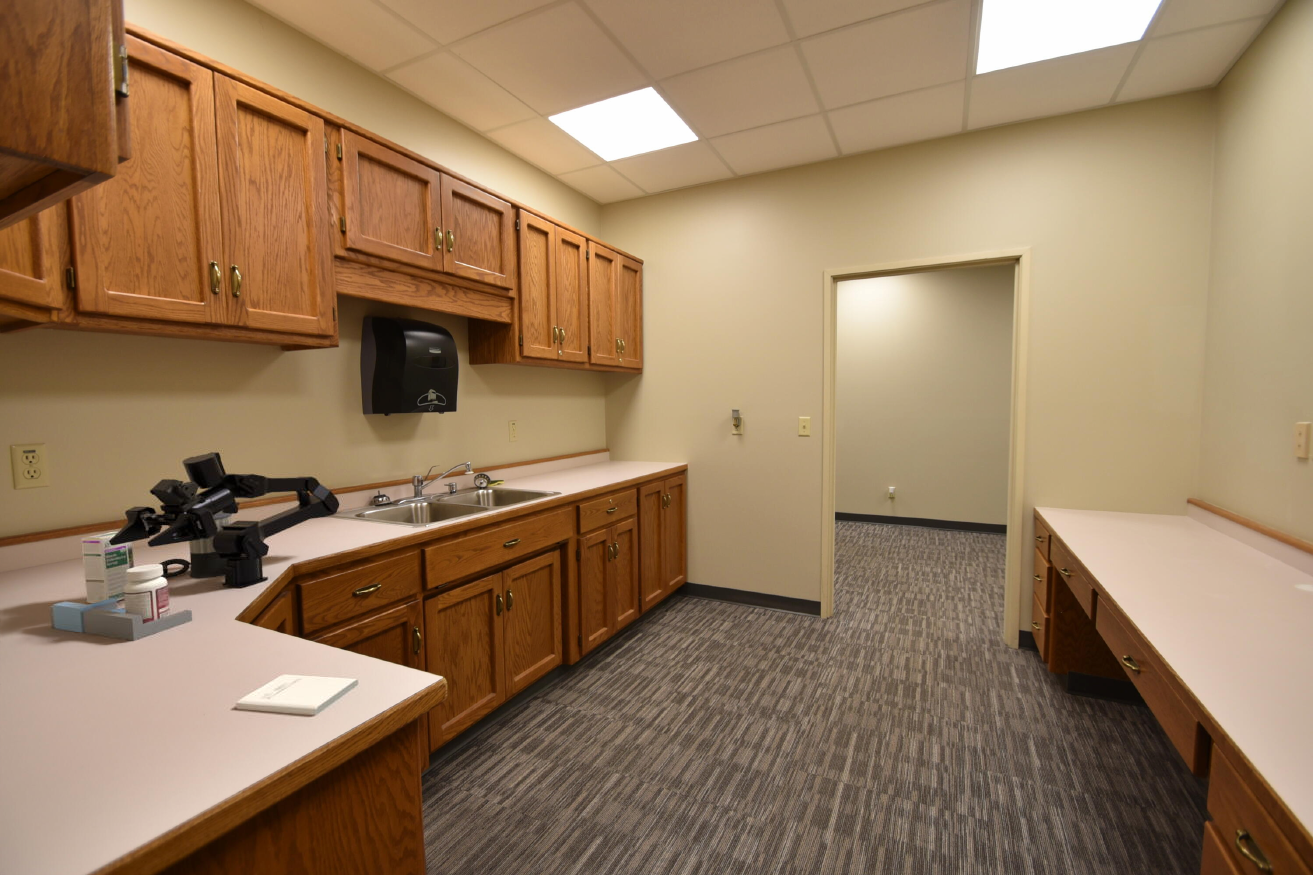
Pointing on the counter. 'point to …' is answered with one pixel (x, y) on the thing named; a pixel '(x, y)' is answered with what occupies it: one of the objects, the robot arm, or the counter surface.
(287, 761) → the counter surface
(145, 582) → the pill bottle
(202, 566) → the milk frother
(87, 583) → the syrup box
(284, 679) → the external hard drive
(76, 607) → the divider rack
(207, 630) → the counter surface
